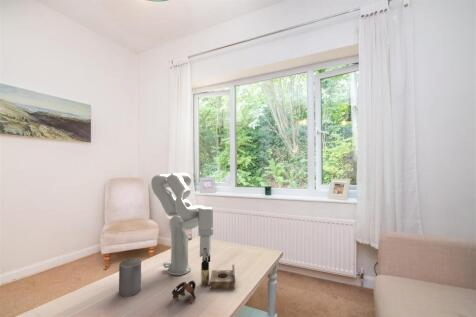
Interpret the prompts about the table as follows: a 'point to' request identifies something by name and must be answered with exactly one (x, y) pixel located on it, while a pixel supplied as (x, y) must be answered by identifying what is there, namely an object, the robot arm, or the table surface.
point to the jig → (223, 279)
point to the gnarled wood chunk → (182, 291)
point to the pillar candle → (129, 277)
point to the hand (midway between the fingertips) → (206, 265)
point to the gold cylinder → (204, 277)
